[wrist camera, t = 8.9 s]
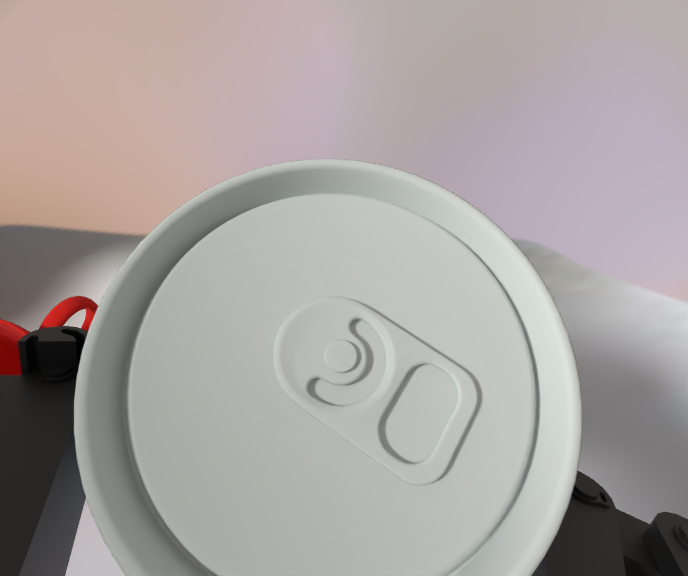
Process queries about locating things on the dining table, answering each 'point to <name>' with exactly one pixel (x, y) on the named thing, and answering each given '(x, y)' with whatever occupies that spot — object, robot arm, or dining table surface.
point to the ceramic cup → (4, 335)
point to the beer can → (328, 386)
